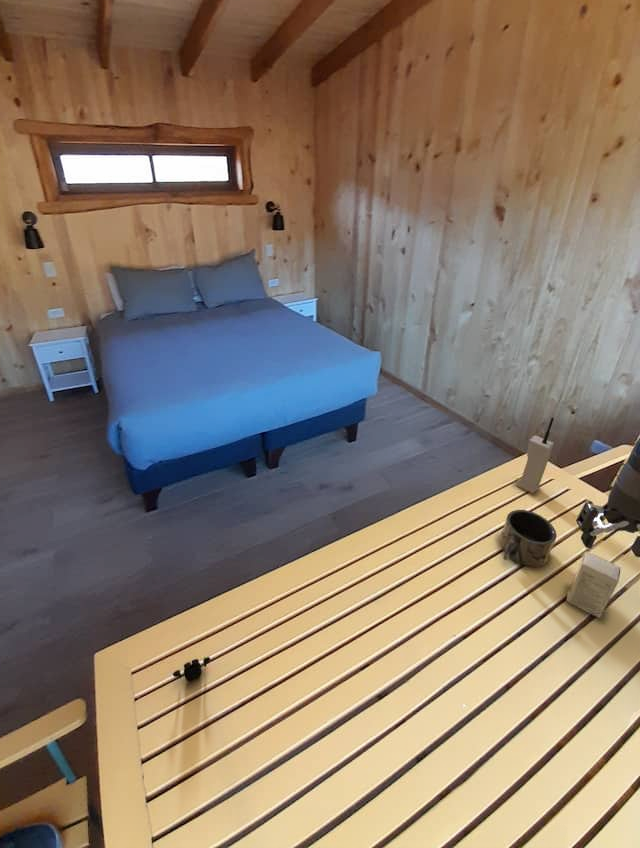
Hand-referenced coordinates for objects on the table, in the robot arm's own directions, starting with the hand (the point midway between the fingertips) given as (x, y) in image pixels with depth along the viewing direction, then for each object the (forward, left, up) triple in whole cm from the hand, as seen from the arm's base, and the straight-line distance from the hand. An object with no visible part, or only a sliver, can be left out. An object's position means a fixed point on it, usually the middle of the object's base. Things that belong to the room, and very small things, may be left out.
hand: (610, 549), depth 80 cm
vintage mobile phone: (+2, -36, -17) cm, 40 cm away
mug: (+10, -11, -17) cm, 23 cm away
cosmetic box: (0, 0, -17) cm, 17 cm away
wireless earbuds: (+77, +34, -17) cm, 86 cm away
